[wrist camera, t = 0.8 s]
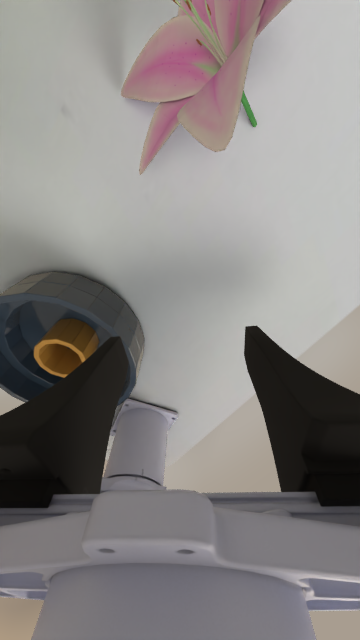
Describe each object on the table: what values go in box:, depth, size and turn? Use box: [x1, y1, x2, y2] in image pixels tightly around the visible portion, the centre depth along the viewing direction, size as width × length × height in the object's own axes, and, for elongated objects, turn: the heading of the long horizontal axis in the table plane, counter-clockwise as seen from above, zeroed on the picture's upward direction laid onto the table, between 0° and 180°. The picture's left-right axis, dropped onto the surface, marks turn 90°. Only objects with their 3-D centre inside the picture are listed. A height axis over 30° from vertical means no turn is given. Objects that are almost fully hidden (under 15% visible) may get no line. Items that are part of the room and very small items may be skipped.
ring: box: [34, 318, 99, 378], centre depth 23 cm, size 5×5×4 cm
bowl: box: [0, 272, 144, 406], centre depth 23 cm, size 15×15×5 cm
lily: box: [121, 0, 291, 175], centre depth 11 cm, size 12×12×10 cm
